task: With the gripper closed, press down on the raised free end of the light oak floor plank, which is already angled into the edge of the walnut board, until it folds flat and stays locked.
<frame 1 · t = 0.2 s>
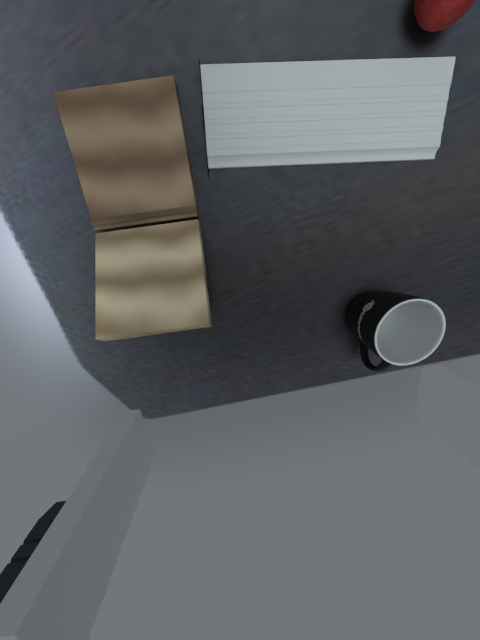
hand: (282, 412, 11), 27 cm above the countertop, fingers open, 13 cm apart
mug: (362, 320, 39), on the countertop
walnut board: (136, 164, 31), on the countertop
oak plank: (152, 279, 31), point 5 cm above the countertop, hinge at 30.0°
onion: (420, 21, 28), on the countertop
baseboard: (321, 127, 31), on the countertop
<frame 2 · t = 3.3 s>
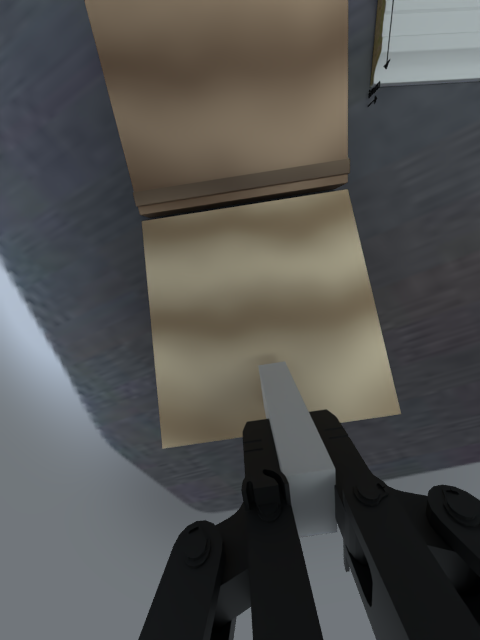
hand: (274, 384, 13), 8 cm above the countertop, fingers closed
walnut board: (225, 76, 15), on the countertop
oak plank: (260, 312, 16), point 4 cm above the countertop, hinge at 27.0°, touching gripper
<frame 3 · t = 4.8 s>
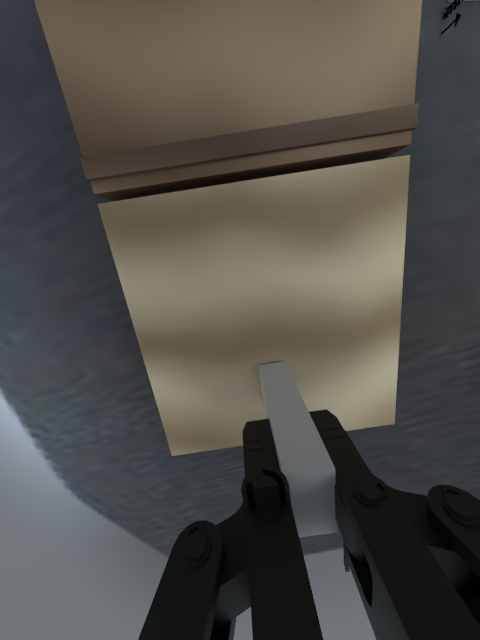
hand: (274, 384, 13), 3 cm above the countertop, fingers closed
oak plank: (267, 325, 13), point 1 cm above the countertop, hinge at 1.9°, touching gripper
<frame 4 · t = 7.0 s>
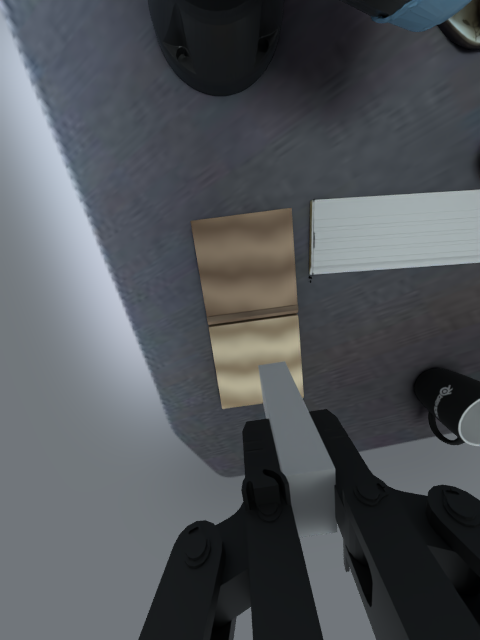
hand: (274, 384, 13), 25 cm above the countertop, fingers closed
mug: (426, 390, 44), on the countertop
walnut board: (246, 268, 36), on the countertop
oak plank: (257, 361, 39), point 1 cm above the countertop, hinge at 1.7°
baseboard: (404, 238, 37), on the countertop
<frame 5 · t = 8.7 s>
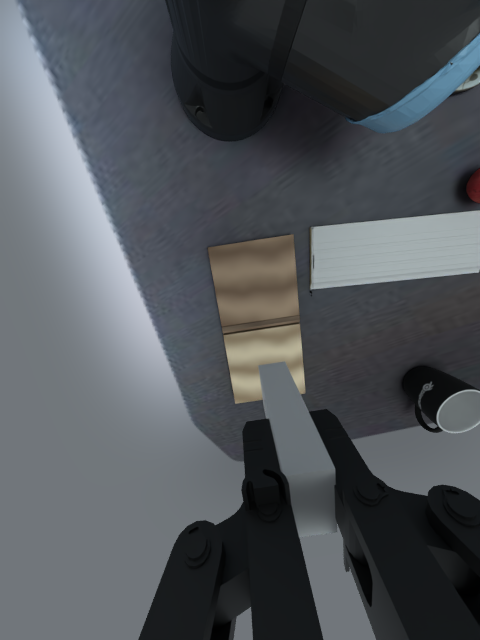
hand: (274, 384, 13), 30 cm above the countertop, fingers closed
mug: (414, 385, 50), on the countertop
walnut board: (255, 284, 42), on the countertop
oak plank: (265, 363, 46), point 1 cm above the countertop, hinge at 1.7°
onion: (468, 188, 39), on the countertop
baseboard: (393, 255, 42), on the countertop
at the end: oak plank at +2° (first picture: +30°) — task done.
